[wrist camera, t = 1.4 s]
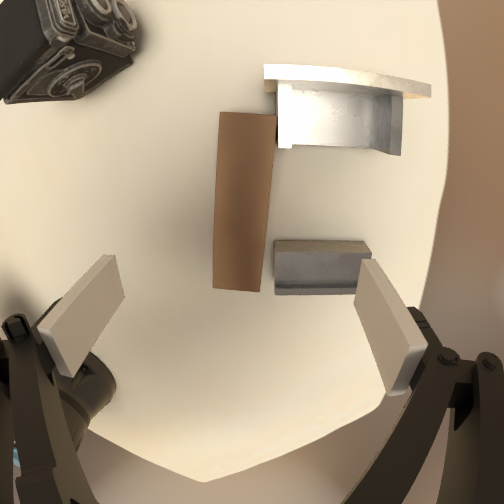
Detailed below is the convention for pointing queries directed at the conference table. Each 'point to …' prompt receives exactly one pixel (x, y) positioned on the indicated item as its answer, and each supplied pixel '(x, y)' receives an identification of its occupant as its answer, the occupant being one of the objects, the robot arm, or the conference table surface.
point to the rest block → (318, 267)
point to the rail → (242, 199)
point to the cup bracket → (339, 106)
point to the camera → (62, 47)
